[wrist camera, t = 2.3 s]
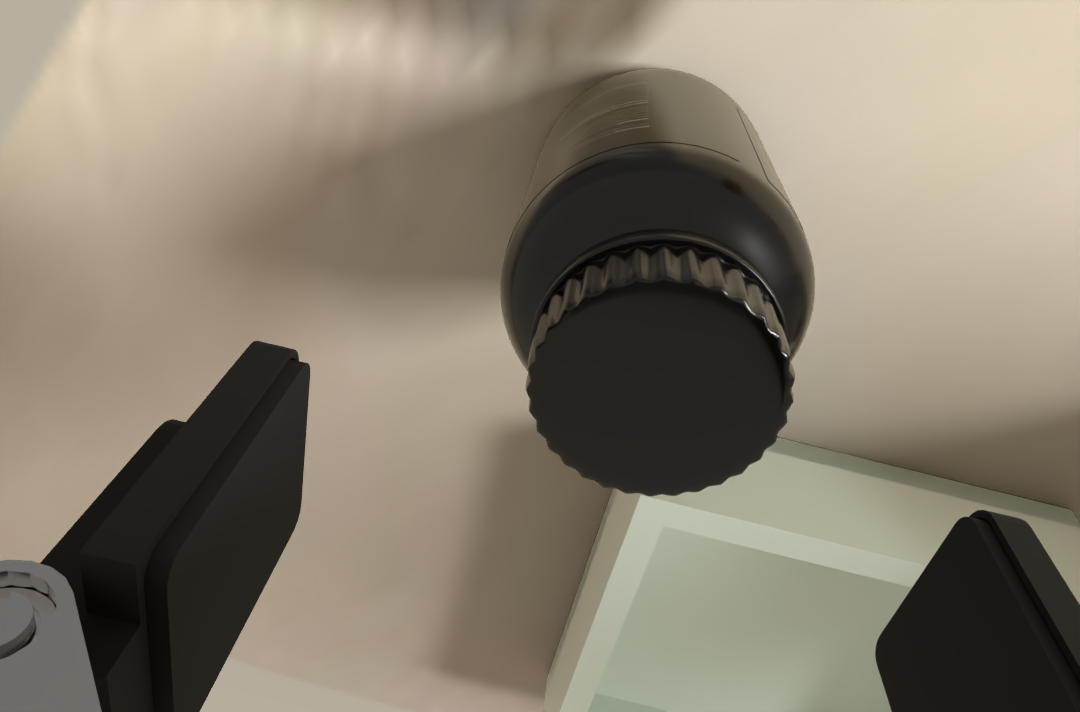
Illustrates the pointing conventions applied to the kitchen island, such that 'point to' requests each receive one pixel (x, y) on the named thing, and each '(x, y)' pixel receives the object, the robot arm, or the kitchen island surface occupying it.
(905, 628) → the robot arm
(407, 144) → the kitchen island surface
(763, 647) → the bin
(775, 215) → the supplement bottle
